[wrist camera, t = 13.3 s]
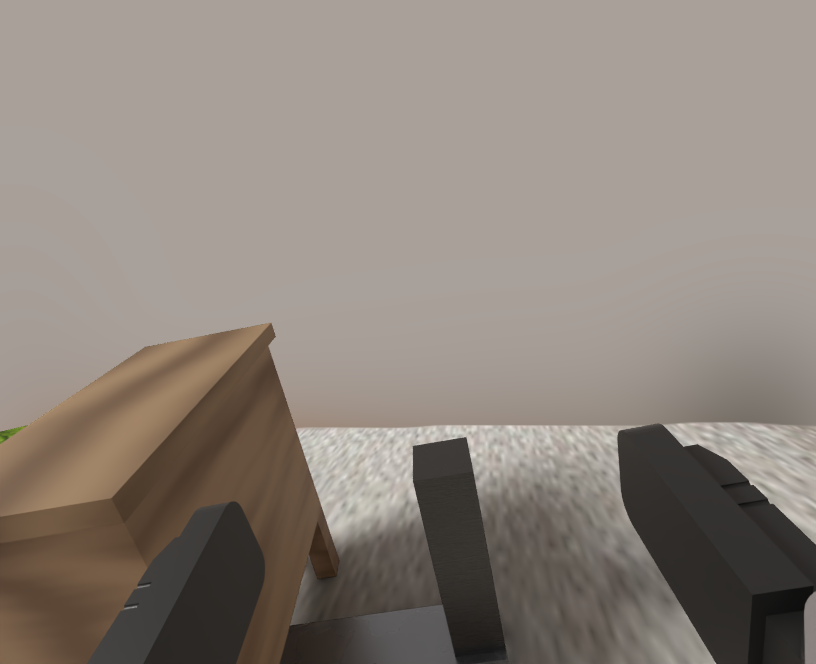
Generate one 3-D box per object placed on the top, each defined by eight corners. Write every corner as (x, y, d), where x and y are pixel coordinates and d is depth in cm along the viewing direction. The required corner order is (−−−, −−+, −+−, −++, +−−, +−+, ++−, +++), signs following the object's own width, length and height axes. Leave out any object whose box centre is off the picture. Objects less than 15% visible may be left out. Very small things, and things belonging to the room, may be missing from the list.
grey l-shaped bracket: (497, 609, 30) (465, 432, 25) (510, 673, 26) (474, 478, 21) (200, 650, 31) (117, 490, 27) (171, 716, 28) (69, 543, 23)
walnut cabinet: (347, 547, 37) (274, 319, 31) (295, 849, 21) (111, 498, 14) (244, 563, 38) (150, 343, 31) (115, 867, 22) (-145, 540, 15)
